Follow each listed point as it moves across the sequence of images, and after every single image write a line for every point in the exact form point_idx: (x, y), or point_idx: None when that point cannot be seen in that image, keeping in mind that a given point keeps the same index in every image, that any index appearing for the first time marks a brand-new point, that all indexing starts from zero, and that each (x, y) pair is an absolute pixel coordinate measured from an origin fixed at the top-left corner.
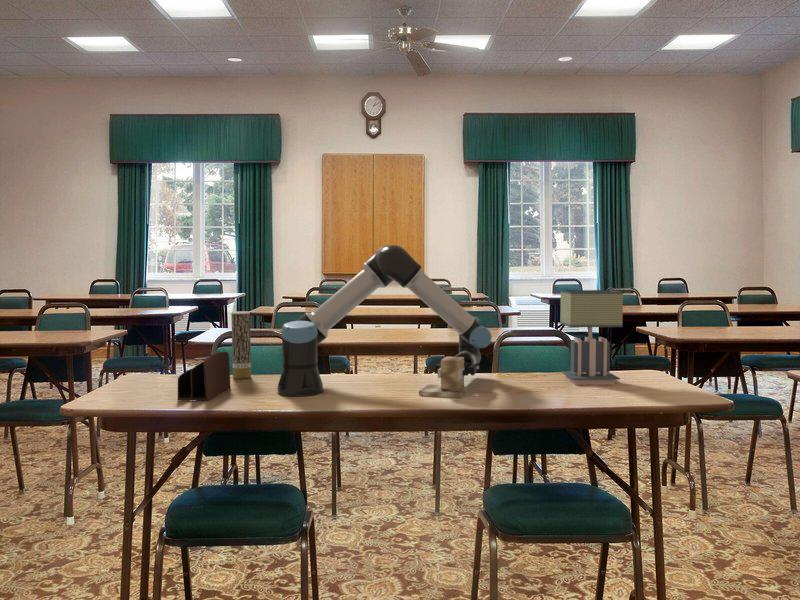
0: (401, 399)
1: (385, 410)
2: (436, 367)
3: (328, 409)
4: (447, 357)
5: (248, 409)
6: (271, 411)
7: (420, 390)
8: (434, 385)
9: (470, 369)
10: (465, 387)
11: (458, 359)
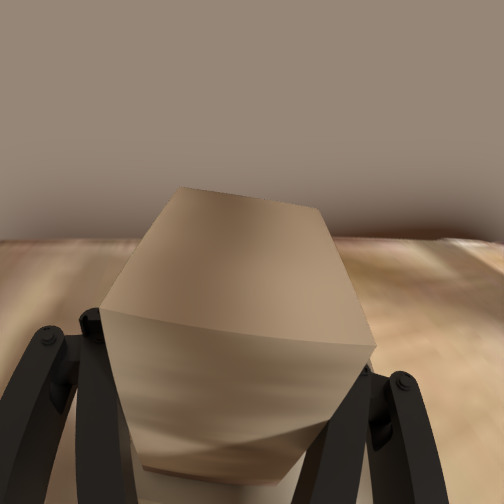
0: (378, 313)
1: (344, 238)
2: (392, 379)
3: (431, 245)
4: (324, 286)
5: (493, 247)
6: (470, 240)
7: (367, 363)
8: (361, 491)
9: (71, 337)
10: (135, 470)
11: (181, 211)
